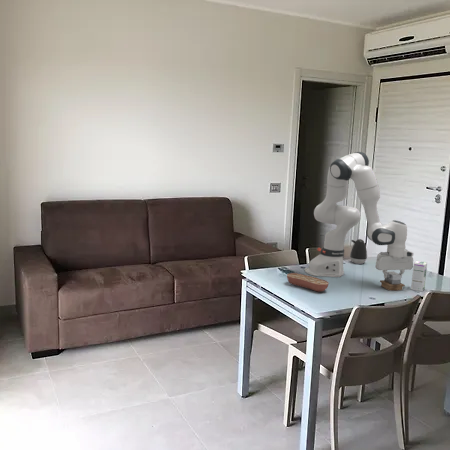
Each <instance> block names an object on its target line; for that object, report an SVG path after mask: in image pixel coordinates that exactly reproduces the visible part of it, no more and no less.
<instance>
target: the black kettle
mask: <svg viewBox="0 0 450 450" xmlns="http://www.w3.org/2000/svg"><path fill="white" fill-rule="evenodd" d="M351 242H352V243H353V245H352V247H351V251H350V254H349V257H350V261H351V262H352V263H354V264H357V265H362V264H364V263H365V262H366V261H367V259H368V249H367V246H366V242H365V241H364V240H363V239H361V238H359V239H356V240H353V239H351Z"/></svg>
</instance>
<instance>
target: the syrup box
mask: <svg viewBox="0 0 450 450" xmlns="http://www.w3.org/2000/svg"><path fill="white" fill-rule="evenodd" d="M427 268H428V262H426V261H418V260H416V261H415V262H413V268H412V278H411V285H410V287H411V288H410V289H411V290H412V291H417V292H423V291H424V290H425V288H426V287H425V286H426V277H427V270H428V269H427Z"/></svg>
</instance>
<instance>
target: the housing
mask: <svg viewBox="0 0 450 450" xmlns="http://www.w3.org/2000/svg"><path fill="white" fill-rule="evenodd" d="M386 273H387V275H388V278H384V279H383V280H384V281H386V282H388V283H390V284H391V285H400V283H402V278H401V275H400V274H399V272H396V271H395V270H390V271H387V272H386Z"/></svg>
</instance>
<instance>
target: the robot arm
mask: <svg viewBox="0 0 450 450" xmlns="http://www.w3.org/2000/svg"><path fill="white" fill-rule="evenodd" d="M369 161H370V160H369V157H368V156H367V154H366V153H365V152H362V151H355V152H353V153H350V154H346V155H344V156H342V157H340V158H337V159H335V160H334V161H333V162H331V164H330V166H329V167H328V171H327V179H326V181H327V182H326V193H325V194H326V195H325V197H324V199H323V200H322V202H320V203H319V204H318V205H316V207H315V208H314V209H313V216H314V219H315V220H316V221H317V222H320V223H323V224H329V225H336V227H335V229H331V230H329V231H327V232H326V233H325V235H324V242H323V243H324V244H323V247H322V248H321V247H318V248H317V250H316V251H317V252H320V253H319V254H318V255H316V256H314V257H313V258H312V259H311V260H310V261H309V264H308V267H305V268H304V270H303V271H304V272H305V273H306V274H308V275H309V276H310V275H311V276H312V277H328V278H329V277H331V278H333V277H334V278H340V277H342V276H343V275H345V270H344V257H345V249H344V248H345V243H346V238H347V234H348V233H349V231H350V230H351V229H352V228H354V227H355V226H357V225H358V224H359V223H360V221H361V212H360V210H359V209H358V208H356V207H354V206H350V205H340V204H337V203H339V202H342V201H344V200H345V199H346V198H347V197H348V193H349V192H348V191H349V190H348V189H349V180H350V179H351V180H352V181H353V182H354V183H353V184H354V186H355V189H356V190H355V191H356V193H357V197H358V199H359V201H360V203H361V205H362V207H363V210H364V214H365V218H366V223H367V226H366V237H367V238H368V240H370V241H372V243H374V244H375V245H377V246H386V248H387V249H386V251H385V252H383V251H380V252H378V254H377V256H376V262H375V267H374V268H376V270H377V271H382V273H383V279H385V278H388V275H387V273H386V272H388V271H400V272H398V274H400V275H401V279H402V278H403V277H402V276H403V275H404V273H405V271H407V270H408V271H410V270H413V266H414V252H413V251H410V250H408V249H406V241H407V236H408V226H407V224H406V223H405V222H403V221H399V220H395V219H394V220H391V221H390V222H388V223H385V224H382V222H381V220H380V217H379V212H378V208H377V204H378V201H380V198H381V194H380V191H381V190H380V187H379V182H378V179H377V176H376V174H375V172H374V169H373V168H372V167H371V166H369V164H370V162H369Z"/></svg>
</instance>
